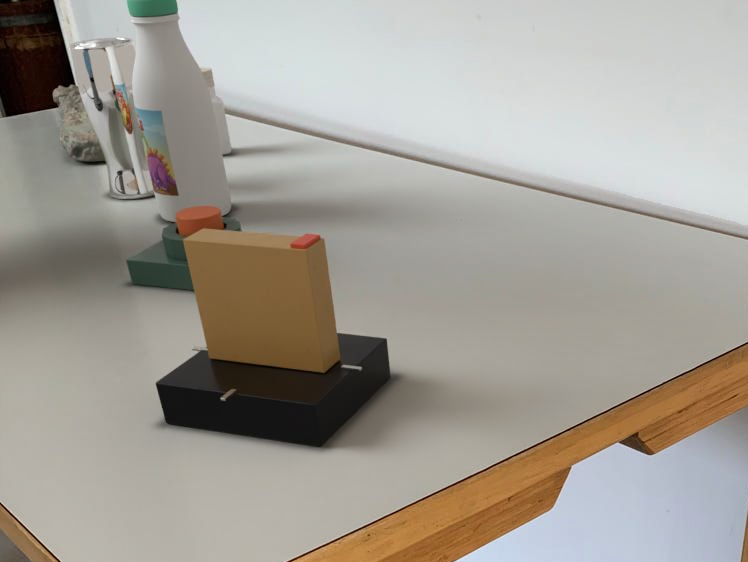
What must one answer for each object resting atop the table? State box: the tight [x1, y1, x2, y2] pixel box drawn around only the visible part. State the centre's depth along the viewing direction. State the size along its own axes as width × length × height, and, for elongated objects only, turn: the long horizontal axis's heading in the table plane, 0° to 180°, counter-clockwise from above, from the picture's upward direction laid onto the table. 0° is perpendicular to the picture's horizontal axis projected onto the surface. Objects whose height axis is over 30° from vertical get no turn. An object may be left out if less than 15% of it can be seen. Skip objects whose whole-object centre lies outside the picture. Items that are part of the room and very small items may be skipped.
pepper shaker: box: [200, 67, 232, 156], centre depth 124 cm, size 4×4×10 cm
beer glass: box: [69, 37, 155, 200], centre depth 109 cm, size 7×7×15 cm
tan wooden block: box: [183, 228, 340, 373], centre depth 65 cm, size 9×2×8 cm, turn 69°
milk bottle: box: [126, 0, 232, 223], centre depth 99 cm, size 8×8×20 cm
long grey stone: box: [52, 84, 106, 163], centre depth 136 cm, size 35×5×10 cm
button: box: [175, 206, 224, 236], centre depth 88 cm, size 4×4×2 cm
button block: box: [125, 216, 243, 291], centre depth 89 cm, size 11×9×4 cm
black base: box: [155, 332, 391, 448], centre depth 68 cm, size 13×13×3 cm
